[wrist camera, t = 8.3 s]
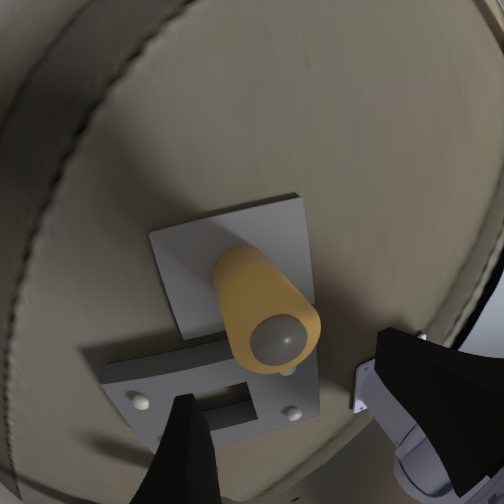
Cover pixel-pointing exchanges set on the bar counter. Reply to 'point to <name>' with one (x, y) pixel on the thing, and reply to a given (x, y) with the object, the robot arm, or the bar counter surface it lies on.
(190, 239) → the pad
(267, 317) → the plug
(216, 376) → the grey socket block
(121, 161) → the bar counter surface
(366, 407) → the robot arm
